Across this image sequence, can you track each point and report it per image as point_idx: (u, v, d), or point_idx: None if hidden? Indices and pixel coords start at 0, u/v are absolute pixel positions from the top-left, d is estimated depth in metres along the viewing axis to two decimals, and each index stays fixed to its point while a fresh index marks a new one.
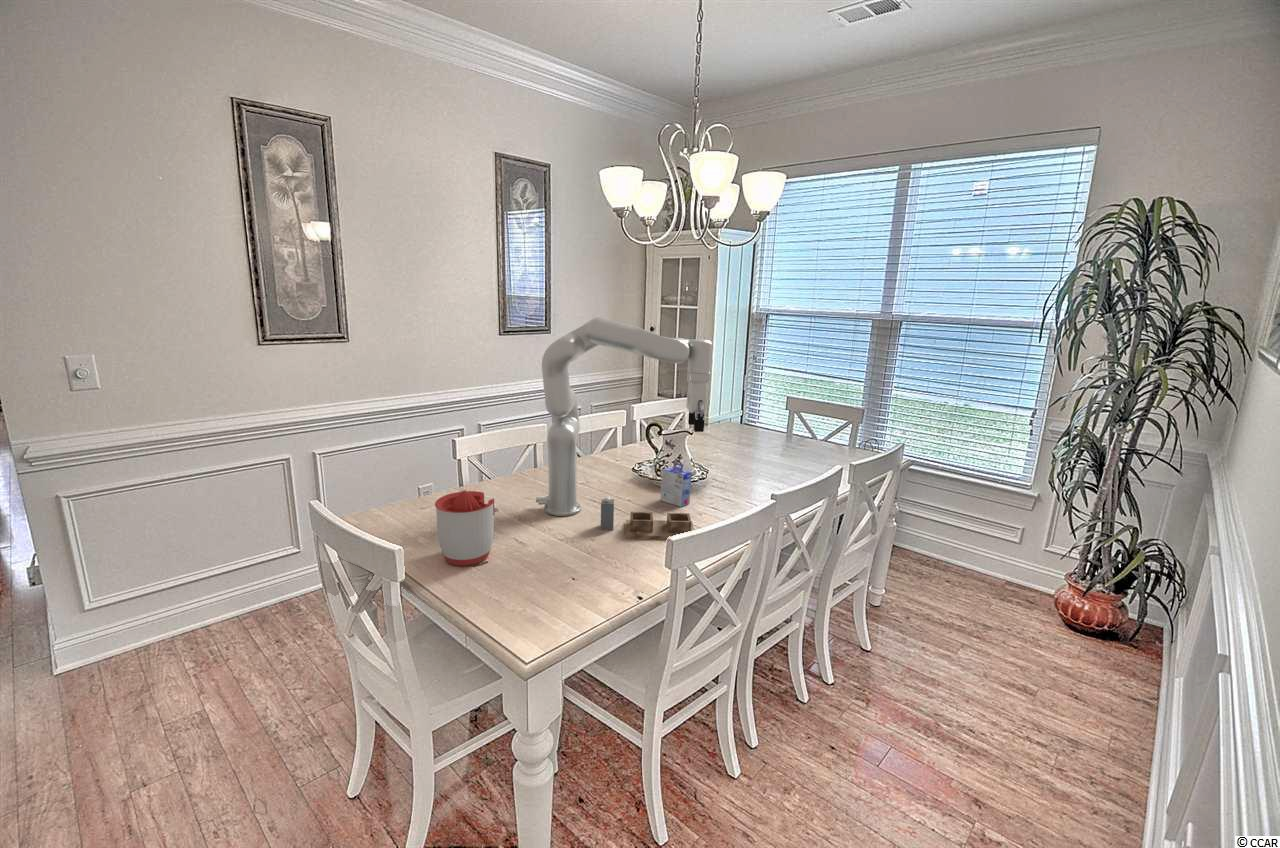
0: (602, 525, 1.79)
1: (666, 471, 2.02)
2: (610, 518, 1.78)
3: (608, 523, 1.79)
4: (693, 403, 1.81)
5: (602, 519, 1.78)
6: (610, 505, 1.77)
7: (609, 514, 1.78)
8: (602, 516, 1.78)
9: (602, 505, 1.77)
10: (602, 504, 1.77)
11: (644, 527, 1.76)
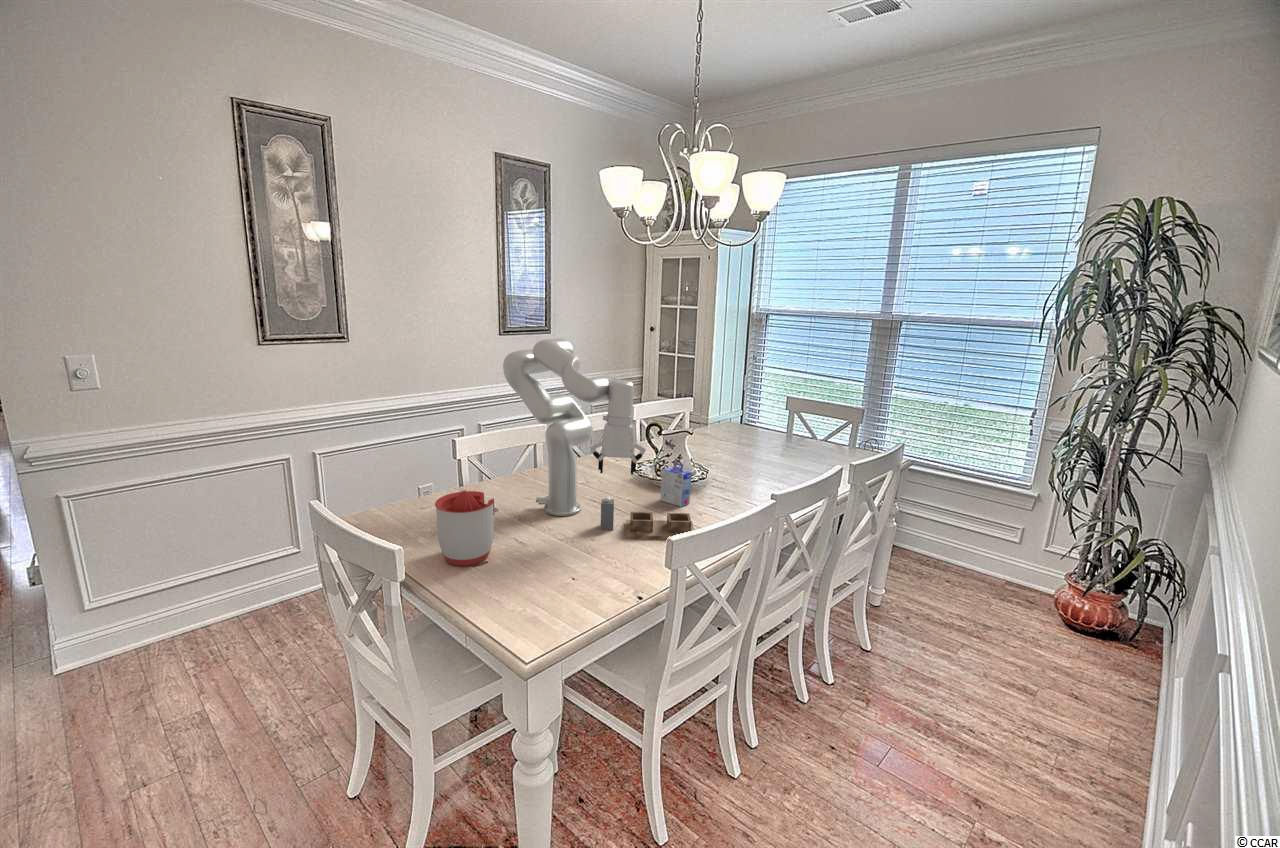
0: (602, 525, 1.79)
1: (666, 471, 2.02)
2: (610, 518, 1.78)
3: (608, 523, 1.79)
4: (634, 447, 1.73)
5: (602, 519, 1.78)
6: (610, 505, 1.77)
7: (609, 514, 1.78)
8: (602, 516, 1.78)
9: (602, 505, 1.77)
10: (602, 504, 1.77)
11: (644, 527, 1.76)
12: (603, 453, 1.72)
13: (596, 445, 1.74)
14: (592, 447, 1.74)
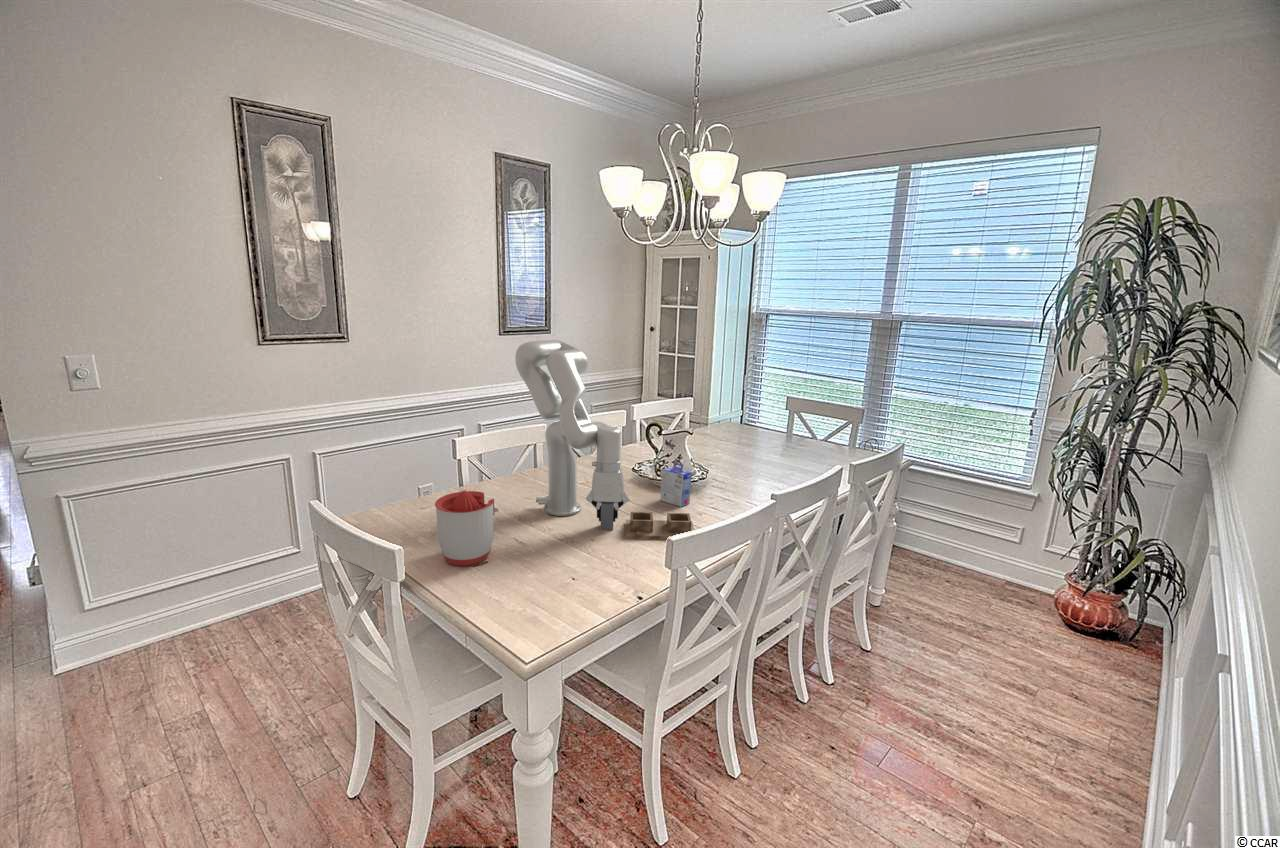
0: (602, 525, 1.79)
1: (666, 471, 2.02)
2: (610, 518, 1.78)
3: (608, 523, 1.79)
4: (623, 492, 1.76)
5: (602, 518, 1.78)
6: (610, 505, 1.77)
7: (609, 514, 1.78)
8: (602, 516, 1.78)
9: (602, 505, 1.77)
10: (602, 504, 1.77)
11: (644, 527, 1.76)
12: (593, 498, 1.76)
13: (590, 495, 1.78)
14: (587, 498, 1.78)
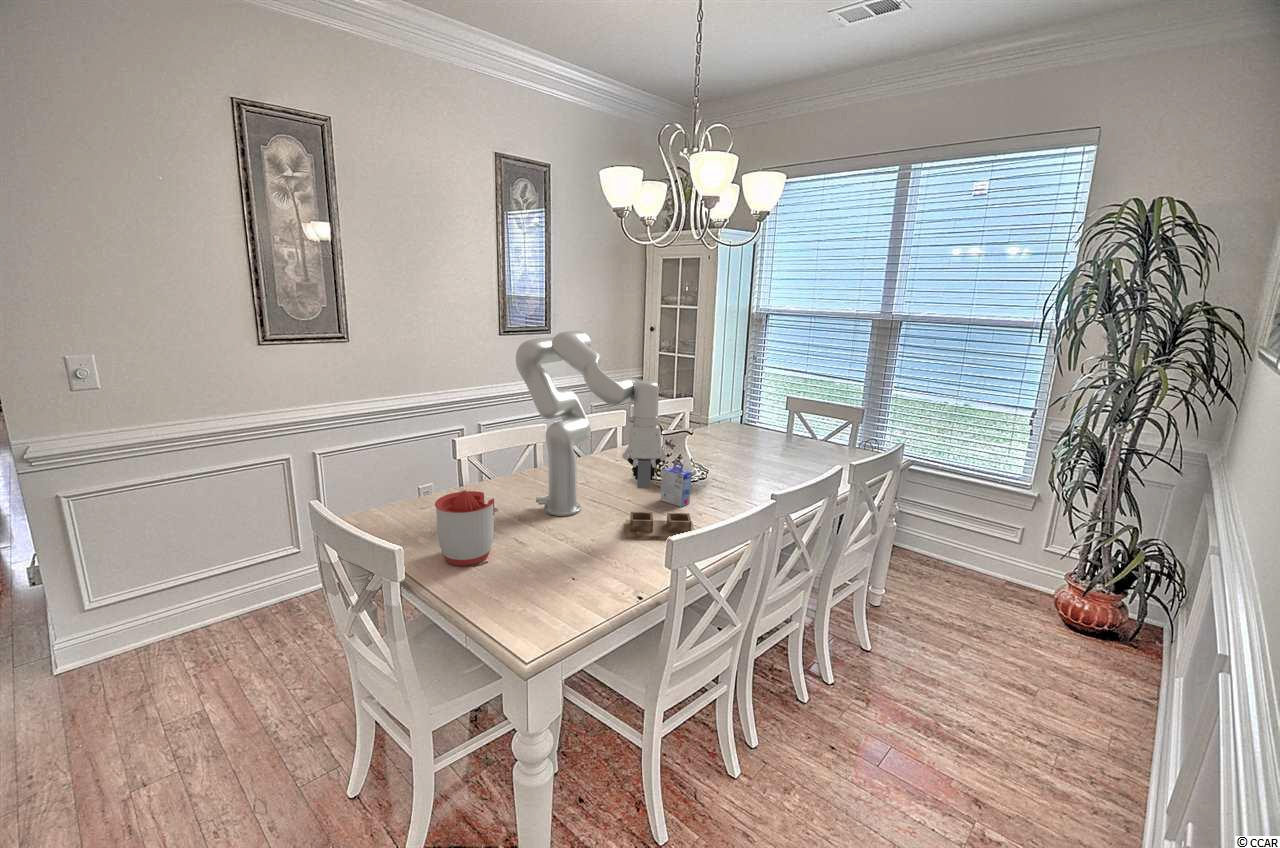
0: (639, 483, 1.73)
1: (666, 471, 2.02)
2: (647, 476, 1.73)
3: (645, 481, 1.73)
4: (660, 448, 1.71)
5: (639, 476, 1.73)
6: (647, 462, 1.72)
7: (647, 472, 1.73)
8: (639, 474, 1.73)
9: (639, 462, 1.72)
10: (639, 461, 1.72)
11: (644, 527, 1.76)
12: (630, 455, 1.71)
13: (626, 452, 1.73)
14: (624, 455, 1.73)
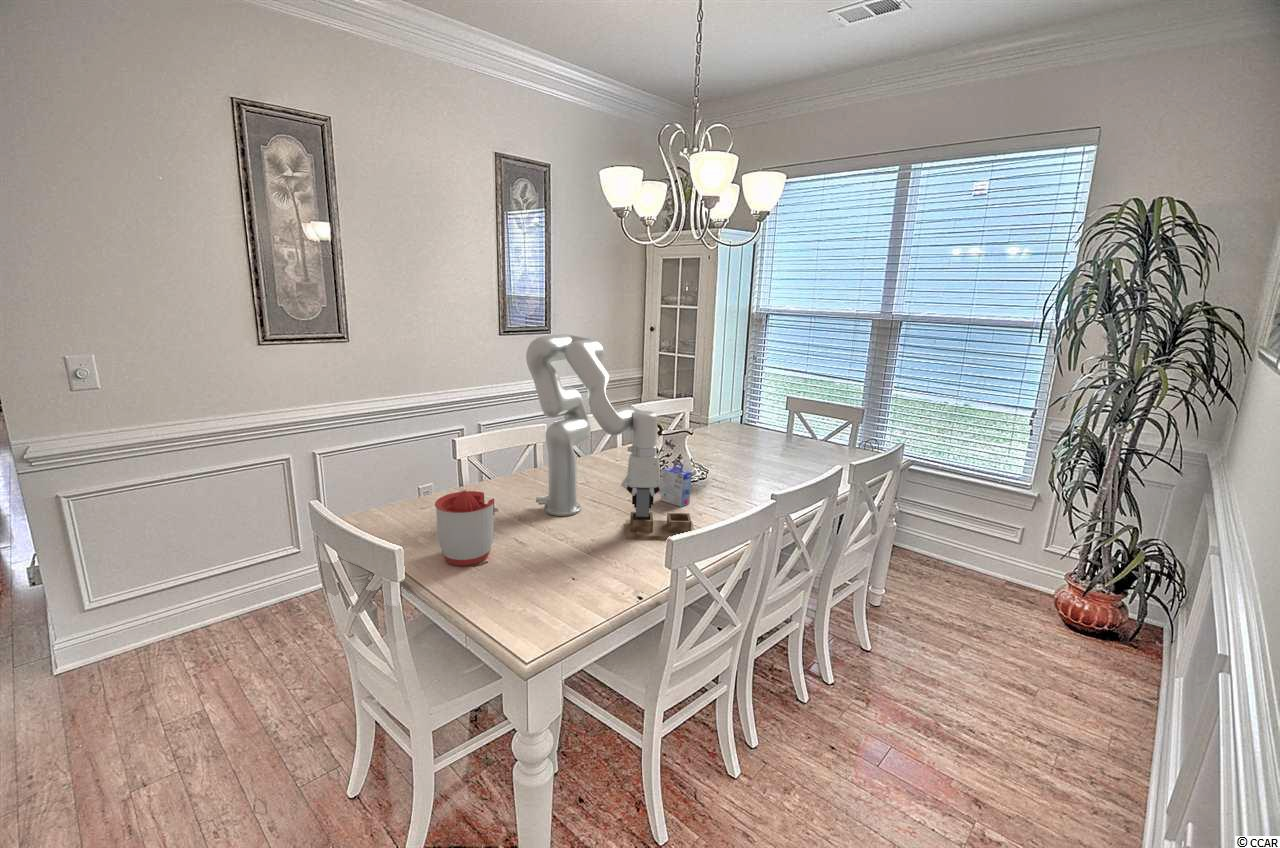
0: (638, 511, 1.76)
1: (666, 471, 2.02)
2: (646, 505, 1.75)
3: (643, 509, 1.76)
4: (659, 477, 1.73)
5: (638, 505, 1.75)
6: (646, 491, 1.74)
7: (645, 500, 1.75)
8: (638, 502, 1.75)
9: (638, 491, 1.74)
10: (638, 490, 1.74)
11: (644, 527, 1.76)
12: (629, 484, 1.73)
13: (625, 480, 1.75)
14: (623, 484, 1.75)
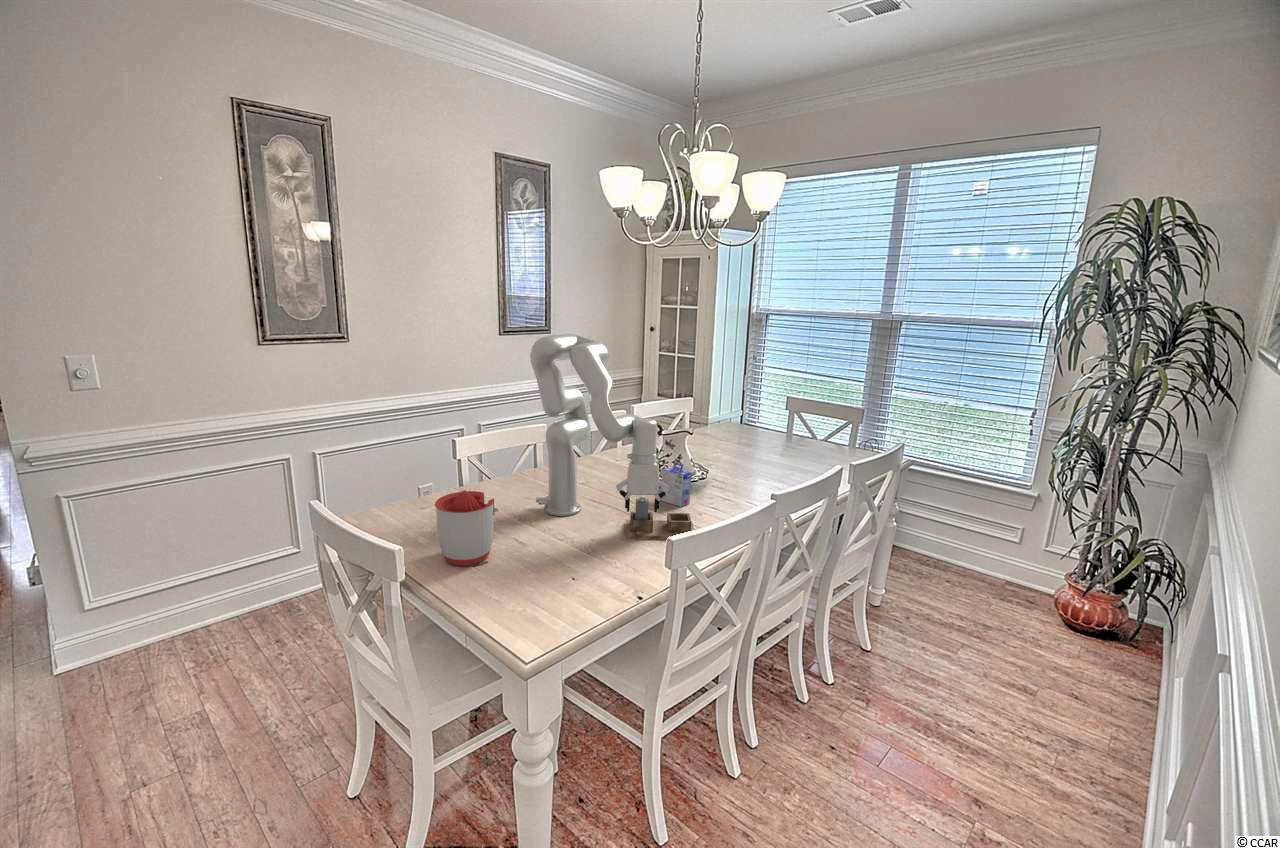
0: None
1: (666, 471, 2.02)
2: (645, 518, 1.76)
3: None
4: (658, 484, 1.74)
5: (637, 518, 1.76)
6: (645, 505, 1.75)
7: (644, 514, 1.76)
8: (637, 516, 1.76)
9: (637, 505, 1.75)
10: (637, 504, 1.75)
11: (644, 527, 1.76)
12: (628, 491, 1.74)
13: (621, 484, 1.75)
14: (618, 486, 1.75)
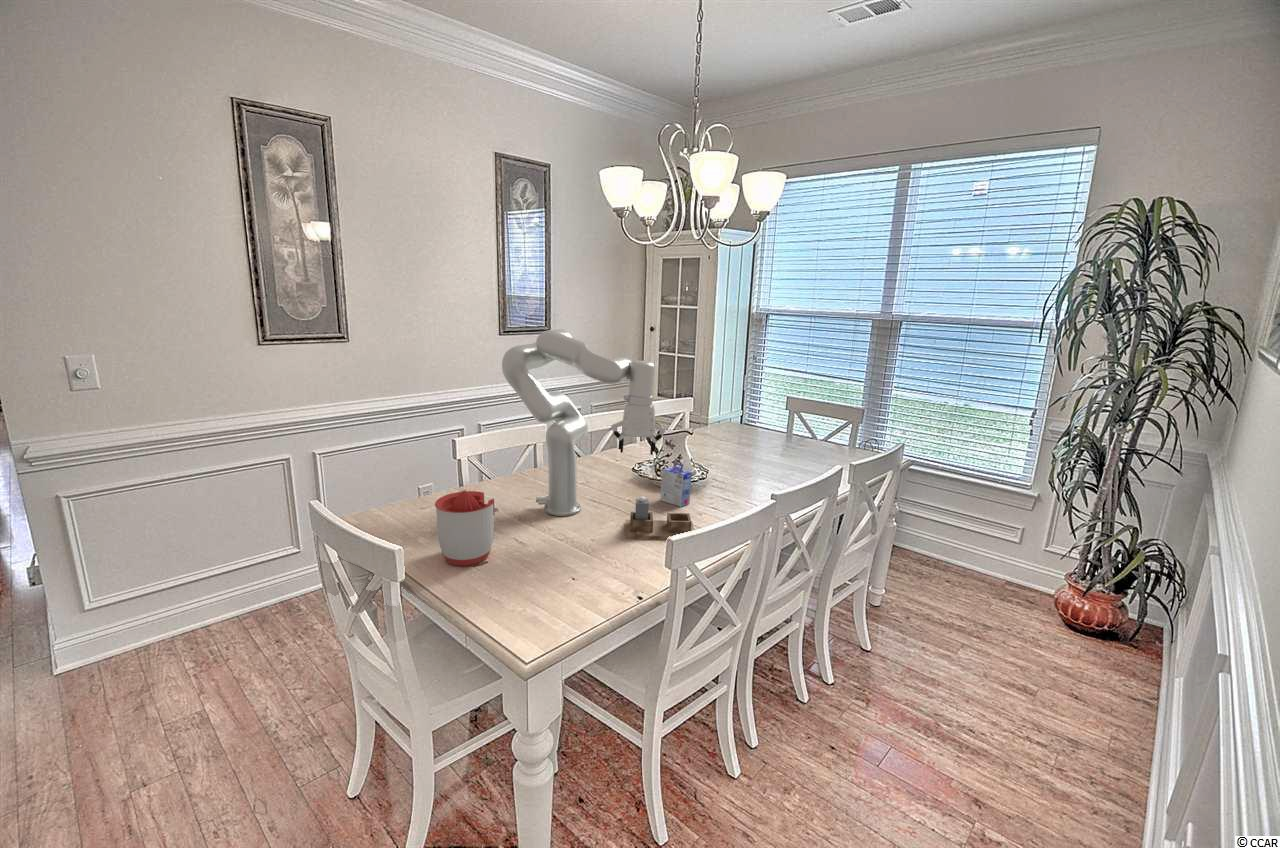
0: None
1: (666, 471, 2.02)
2: (645, 518, 1.76)
3: None
4: (653, 427, 1.75)
5: (637, 518, 1.76)
6: (645, 505, 1.75)
7: (644, 514, 1.76)
8: (637, 516, 1.76)
9: (637, 505, 1.75)
10: (637, 504, 1.75)
11: (644, 527, 1.76)
12: (623, 432, 1.75)
13: (617, 424, 1.77)
14: (613, 426, 1.77)
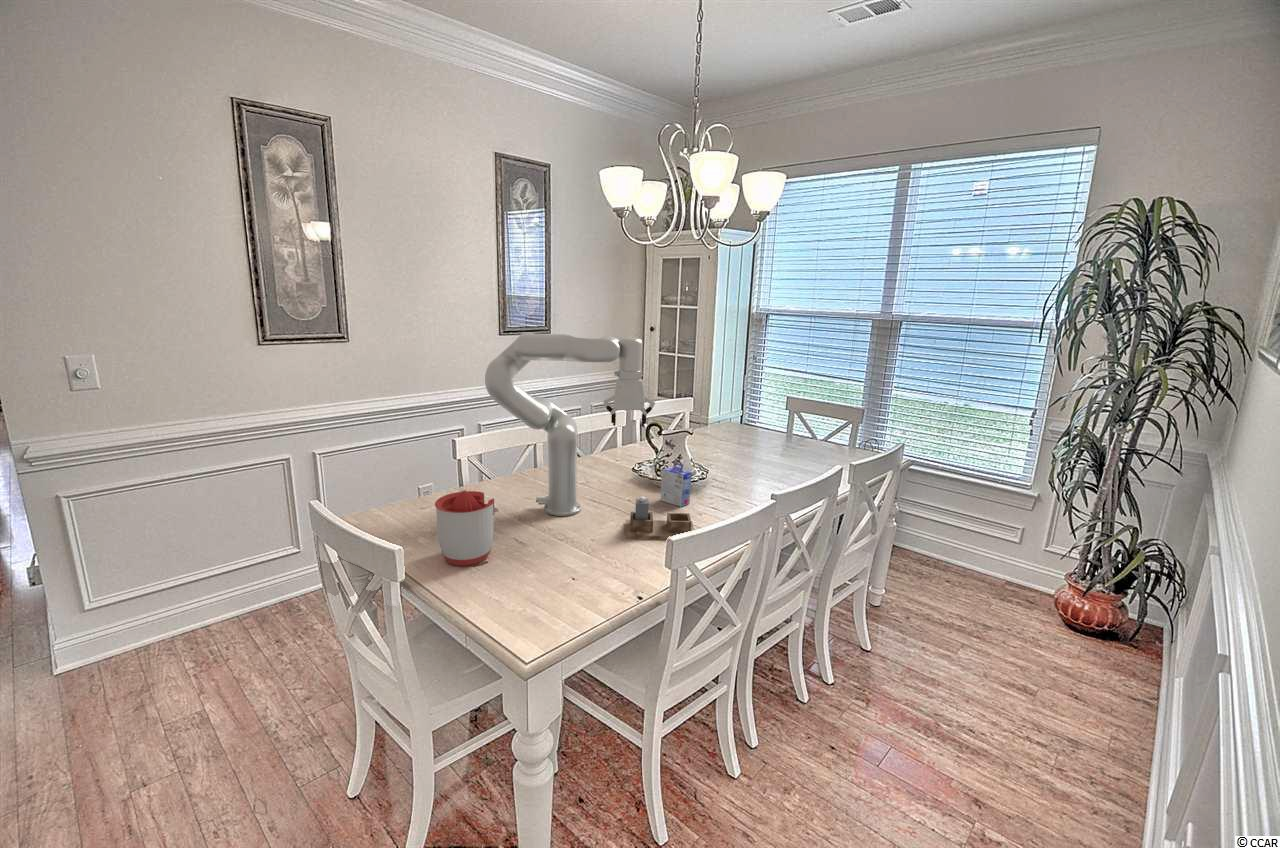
0: None
1: (666, 471, 2.02)
2: (645, 518, 1.76)
3: None
4: (644, 400, 1.86)
5: (637, 518, 1.76)
6: (645, 505, 1.75)
7: (644, 514, 1.76)
8: (637, 516, 1.76)
9: (637, 505, 1.75)
10: (637, 504, 1.75)
11: (644, 527, 1.76)
12: (615, 406, 1.86)
13: (609, 399, 1.87)
14: (605, 401, 1.87)
